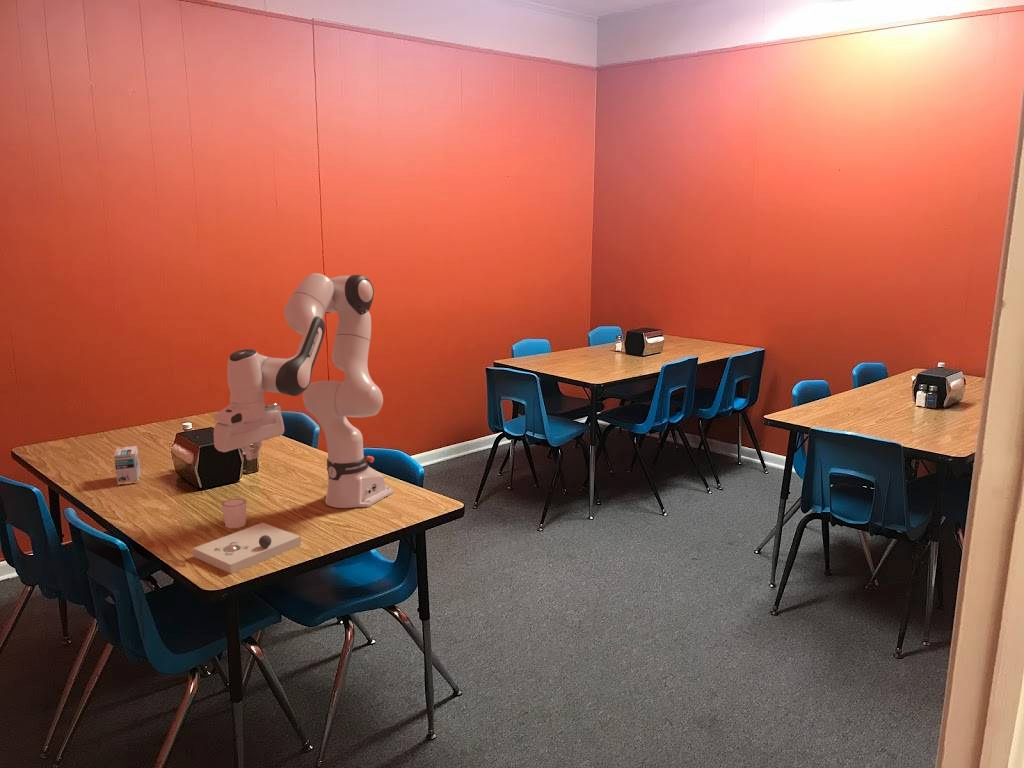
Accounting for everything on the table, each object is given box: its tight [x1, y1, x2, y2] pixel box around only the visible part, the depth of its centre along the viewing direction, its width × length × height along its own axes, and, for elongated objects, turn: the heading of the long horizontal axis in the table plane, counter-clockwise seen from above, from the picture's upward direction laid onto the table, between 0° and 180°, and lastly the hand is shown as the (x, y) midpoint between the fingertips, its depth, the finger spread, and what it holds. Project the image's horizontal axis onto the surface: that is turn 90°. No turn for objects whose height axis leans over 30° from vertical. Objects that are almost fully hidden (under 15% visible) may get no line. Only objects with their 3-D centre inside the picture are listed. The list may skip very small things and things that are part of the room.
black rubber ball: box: [259, 535, 271, 547], centre depth 207 cm, size 3×3×3 cm
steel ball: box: [226, 546, 238, 552], centre depth 207 cm, size 3×3×3 cm
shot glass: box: [221, 498, 247, 529], centre depth 229 cm, size 7×7×7 cm
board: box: [192, 522, 302, 575], centre depth 211 cm, size 22×17×2 cm
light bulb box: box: [113, 445, 141, 483], centre depth 268 cm, size 11×7×11 cm, turn 22°
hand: (252, 458), depth 213 cm, fingers closed
